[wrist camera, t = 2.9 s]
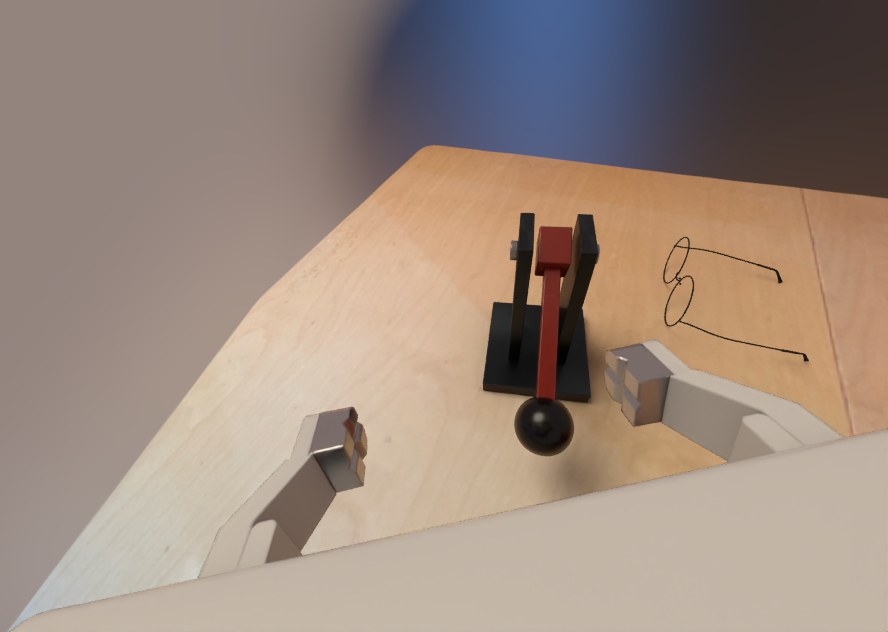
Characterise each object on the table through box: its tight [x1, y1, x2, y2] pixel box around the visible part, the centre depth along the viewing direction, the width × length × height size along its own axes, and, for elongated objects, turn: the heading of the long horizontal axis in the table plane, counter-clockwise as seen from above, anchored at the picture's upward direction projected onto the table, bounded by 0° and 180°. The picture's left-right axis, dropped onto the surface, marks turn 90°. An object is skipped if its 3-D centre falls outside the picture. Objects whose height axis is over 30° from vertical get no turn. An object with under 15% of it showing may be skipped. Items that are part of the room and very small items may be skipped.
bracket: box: [483, 213, 600, 403], centre depth 29 cm, size 10×9×14 cm
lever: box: [514, 226, 574, 456], centre depth 24 cm, size 15×4×4 cm, turn 169°
